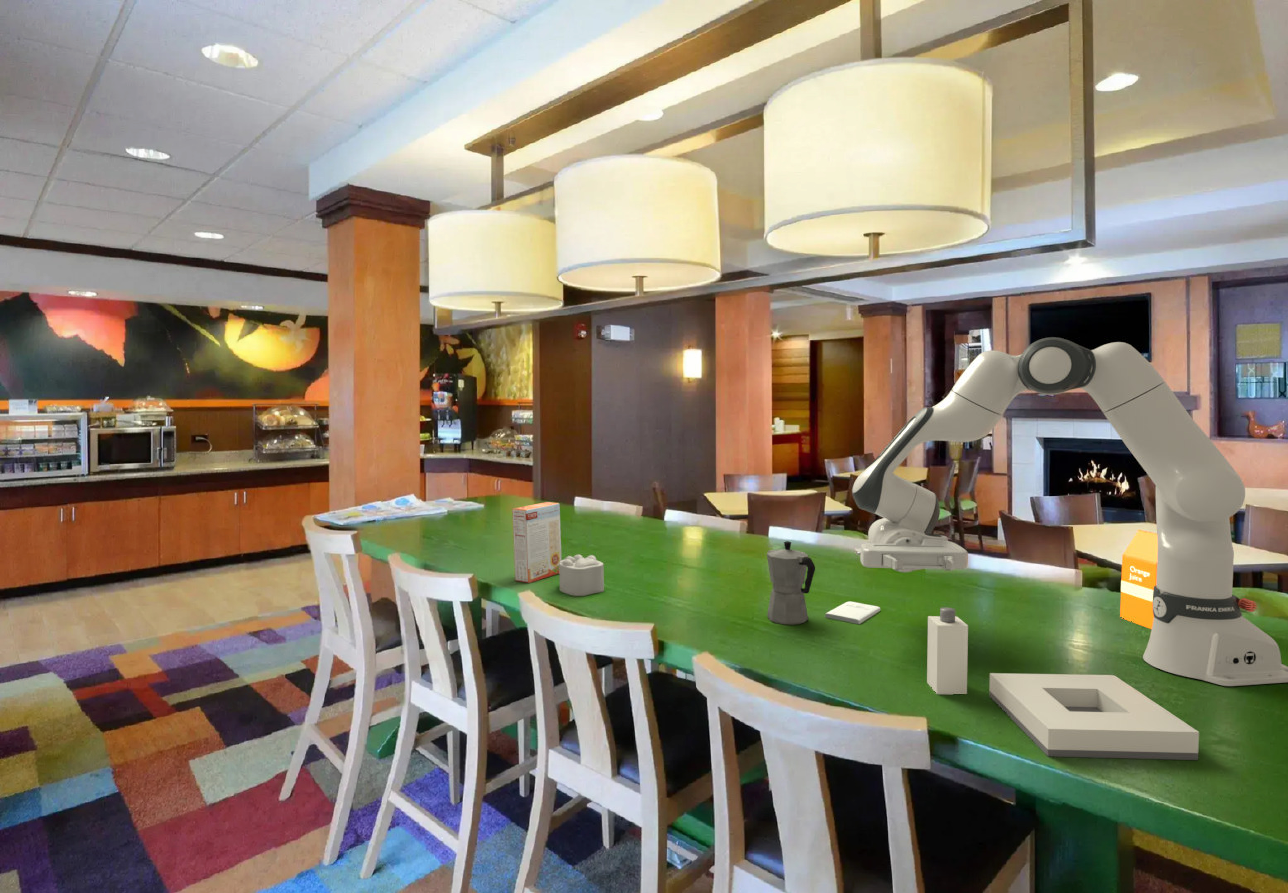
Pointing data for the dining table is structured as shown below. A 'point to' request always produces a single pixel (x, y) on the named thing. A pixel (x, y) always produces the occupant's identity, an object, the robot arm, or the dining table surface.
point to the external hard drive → (852, 612)
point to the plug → (947, 653)
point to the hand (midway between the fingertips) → (924, 565)
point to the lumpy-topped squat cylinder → (581, 575)
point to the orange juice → (1139, 579)
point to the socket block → (1092, 717)
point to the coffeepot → (789, 585)
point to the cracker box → (536, 541)
